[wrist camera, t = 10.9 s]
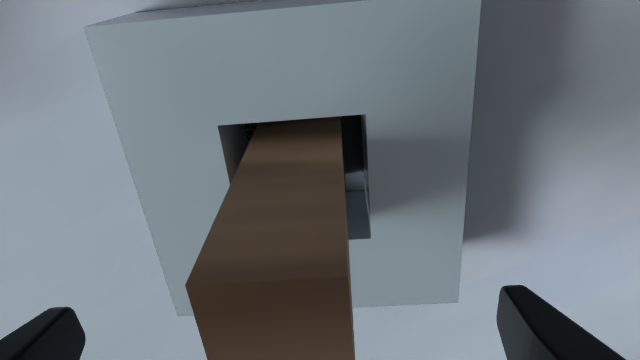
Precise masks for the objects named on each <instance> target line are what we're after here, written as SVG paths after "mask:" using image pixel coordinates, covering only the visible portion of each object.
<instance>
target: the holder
mask: <svg viewBox="0 0 640 360" xmlns="http://www.w3.org/2000/svg"><path fill="white" fill-rule="evenodd" d="M480 11H481V0H261V1H251V2H240V3H230V4H219V5H209V6H198V7H188V8H177V9H166V10H156V11H145V12H135V13H131V14H127V15H124V16H120V17H117V18H113V19H110V20H106V21H103V22H99V23H96V24H92V25H88V26H85V27H84V30H85V33H86V36H87V39H88V42H89V45H90V48H91V52H92V55H93V58H94V61H95V64H96V67H97V70H98V73H99V76H100V79H101V82H102V85H103V88H104V91H105V95H106V98H107V101H108V104H109V107H110V110H111V113H112V116H113V119H114V122H115V125H116V128H117V131H118V134H119V137H120V141H121V144H122V147H123V150H124V153H125V156H126V159H127V162H128V165H129V168H130V171H131V174H132V177H133V180H134V184H135V187H136V190H137V193H138V196H139V199H140V202H141V205H142V208H143V211H144V214H145V217H146V220H147V223H148V227H149V230H150V233H151V236H152V239H153V242H154V245H155V248H156V251H157V254H158V257H159V260H160V263H161V266H162V269H163V273H164V276H165V279H166V282H167V285H168V288H169V291H170V294H171V297H172V300H173V303H174V306H175V309H176V312H177V316H186V315H194V313H193V310H192V307H191V303H190V300H189V297H188V293H187V290H186V287H185V284H186V282H187V280H188V277H189V275H190V273H191V271H192V269H193V266H194V264H195V262H196V260H197V258H198V255H199V253H200V251H201V249H202V246H203V244H204V242H205V240H206V238H207V235H208V233H209V231H210V229H211V226H212V224H213V222H214V220H215V218H216V215H217V213H218V211H219V209H220V206H221V204H222V202H223V200H224V198H225V195H226V193H227V191H228V189H229V186H230V184H231V182H232V180H233V178H234V175H235V173H236V171H237V169H238V166H239V164H240V162H241V160H242V158H243V155H244V153H245V151H246V149H247V146H248V140H247V134H246V129H245V123H258V122H271V121H284V120H297V119H310V118H323V117H336V116H349V115H361V127H362V148H363V169H364V190H365V191H352V192H346V203H347V221H348V239H349V258H350V276H351V294H352V308H354V307H375V306H396V305H417V304H438V303H458V295H459V282H460V269H461V256H462V243H463V230H464V217H465V204H466V191H467V178H468V166H469V153H470V140H471V127H472V114H473V101H474V88H475V75H476V62H477V49H478V36H479V24H480Z"/></svg>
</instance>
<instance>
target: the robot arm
mask: <svg viewBox="0 0 640 360" xmlns="http://www.w3.org/2000/svg"><path fill="white" fill-rule="evenodd" d="M497 326H498V330H499V333H500V337H501V340H502V343H503V347H504V350H505V353H506V357H507V360H626V359H625V358H623V357H622V356H620V355H619V354H618V353H616V352H615V351H614V350H612V349H611V348H609V347H608V346H607V345H605V344H604V343H603V342H601V341H600V340H598V339H597V338H596V337H594V336H593V335H592V334H590V333H589V332H587V331H586V330H585V329H583V328H582V327H581V326H579V325H578V324H576V323H575V322H574V321H572V320H571V319H570V318H568V317H567V316H565V315H564V314H563V313H561V312H560V311H558V310H557V309H556V308H554V307H553V306H552V305H550V304H549V303H547V302H546V301H545V300H543V299H542V298H541V297H539V296H538V295H536V294H535V293H534V292H532V291H531V290H530V289H528V288H527V287H525V286H523V285H509V286H503V287H502V288H501V290H500V295H499V302H498V310H497ZM84 345H85V333H84V330H83V328H82V326H81V324H80V322H79V320H78V318H77V316H76V313H75V312H74V310H73V309H72V308H70V307H54V308H50V309H48V310H46V311H44V312H43V313H41V314H40V315H38V316H37V317H35V318H34V319H32V320H30V321H29V322H27V323H26V324H24V325H23V326H21V327H20V328H18V329H17V330H15V331H13V332H12V333H10V334H9V335H7V336H6V337H4V338H3V339H1V340H0V360H79V359H80V357H81V354H82V351H83V349H84Z"/></svg>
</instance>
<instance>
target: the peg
mask: <svg viewBox="0 0 640 360" xmlns="http://www.w3.org/2000/svg"><path fill="white" fill-rule="evenodd" d="M185 287H186V290H187V293H188V297H189V300H190V303H191V307H192V310H193V313H194V316H195V320H196V323H197V326H198V330H199V333H200V336H201V339H202V343H203V346H204V349H205V352H206V356H207V359H208V360H355V349H354V331H353V313H352V294H351V276H350V258H349V239H348V221H347V203H346V185H345V168H344V155H343V141H342V127H341V116H336V117H323V118H310V119H297V120H284V121H271V122H258V124H257V126H256V129H255V131H254V133H253V135H252V138H251V140H250V142H249V144H248V146H247V149H246V151H245V153H244V155H243V158H242V160H241V162H240V164H239V166H238V169H237V171H236V173H235V175H234V178H233V180H232V182H231V184H230V186H229V189H228V191H227V193H226V195H225V198H224V200H223V202H222V204H221V206H220V209H219V211H218V213H217V215H216V218H215V220H214V222H213V224H212V226H211V229H210V231H209V233H208V235H207V238H206V240H205V242H204V244H203V246H202V249H201V251H200V253H199V255H198V258H197V260H196V262H195V264H194V266H193V269H192V271H191V273H190V275H189V277H188V280H187V282H186V284H185Z"/></svg>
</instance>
